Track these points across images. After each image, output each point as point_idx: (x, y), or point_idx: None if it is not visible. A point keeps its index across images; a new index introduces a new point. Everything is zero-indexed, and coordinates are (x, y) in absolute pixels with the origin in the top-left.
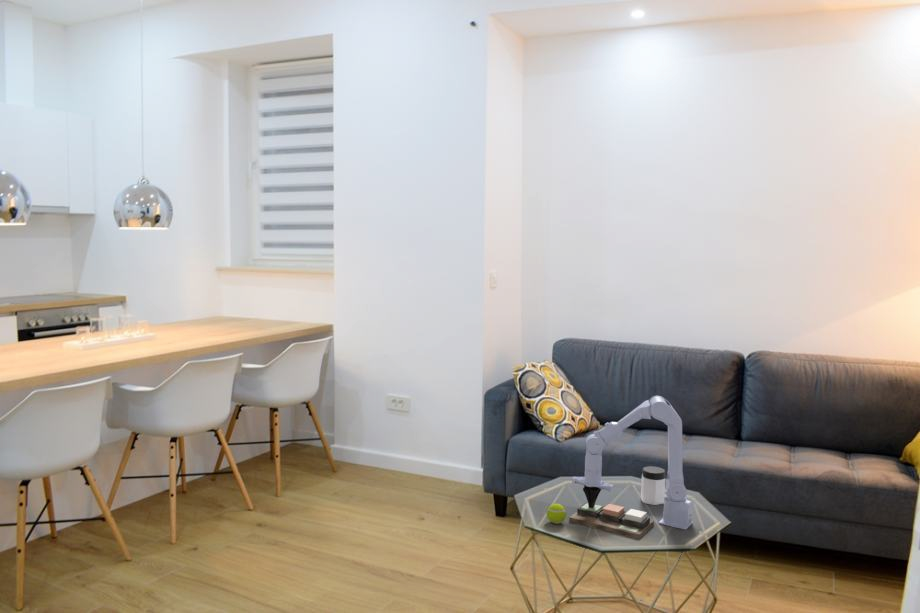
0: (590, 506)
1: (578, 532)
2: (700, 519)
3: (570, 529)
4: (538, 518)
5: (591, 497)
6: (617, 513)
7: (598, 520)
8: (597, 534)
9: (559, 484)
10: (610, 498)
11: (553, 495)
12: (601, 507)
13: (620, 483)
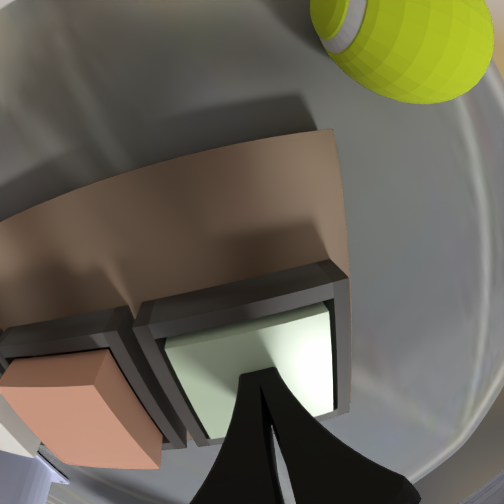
0: (255, 377)
1: (128, 16)
2: None
3: (208, 10)
4: None
5: (251, 457)
6: (3, 378)
7: (101, 270)
8: (19, 109)
9: (475, 418)
10: None
11: (488, 358)
12: (206, 426)
13: None
